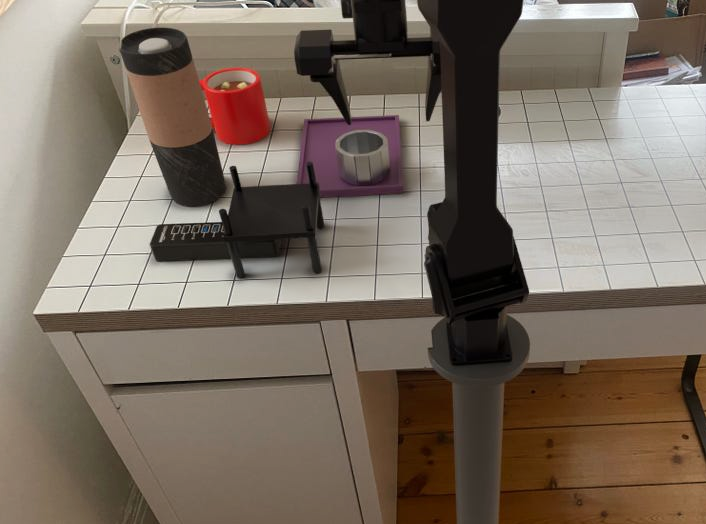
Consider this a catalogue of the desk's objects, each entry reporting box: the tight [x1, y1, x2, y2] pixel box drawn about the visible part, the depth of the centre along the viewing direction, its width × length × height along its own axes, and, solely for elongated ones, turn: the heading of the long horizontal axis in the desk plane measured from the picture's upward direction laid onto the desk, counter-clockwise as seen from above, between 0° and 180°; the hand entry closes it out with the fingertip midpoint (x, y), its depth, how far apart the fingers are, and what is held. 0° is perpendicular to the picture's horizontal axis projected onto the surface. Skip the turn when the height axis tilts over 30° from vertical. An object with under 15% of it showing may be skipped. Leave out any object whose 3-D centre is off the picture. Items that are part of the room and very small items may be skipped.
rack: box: [218, 162, 325, 279], centre depth 87 cm, size 10×10×9 cm
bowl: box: [335, 130, 390, 186], centre depth 100 cm, size 7×7×5 cm
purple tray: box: [295, 114, 404, 199], centre depth 105 cm, size 20×14×1 cm
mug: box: [199, 67, 272, 146], centre depth 108 cm, size 8×12×8 cm, turn 90°
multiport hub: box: [149, 221, 282, 262], centre depth 90 cm, size 4×14×2 cm, turn 94°
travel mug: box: [118, 26, 227, 207], centre depth 92 cm, size 8×8×20 cm
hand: (388, 121), depth 89 cm, fingers open, 9 cm apart
